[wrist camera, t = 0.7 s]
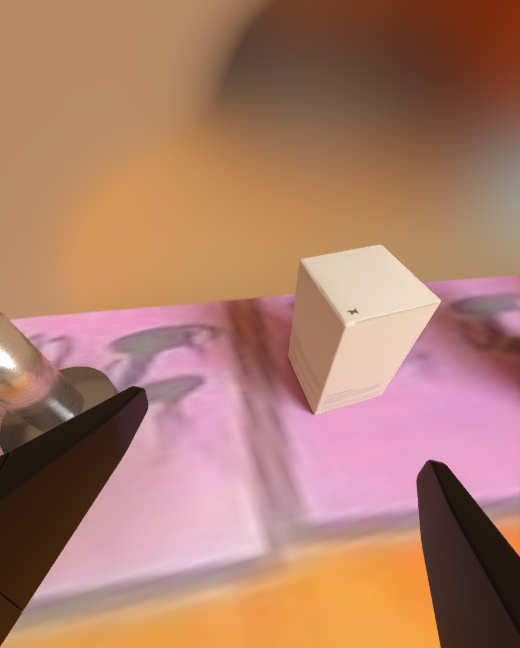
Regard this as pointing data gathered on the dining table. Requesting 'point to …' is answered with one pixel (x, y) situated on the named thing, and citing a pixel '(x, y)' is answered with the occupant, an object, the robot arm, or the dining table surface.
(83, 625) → the dining table surface
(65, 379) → the flared base peg
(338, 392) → the supplement box
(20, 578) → the robot arm
